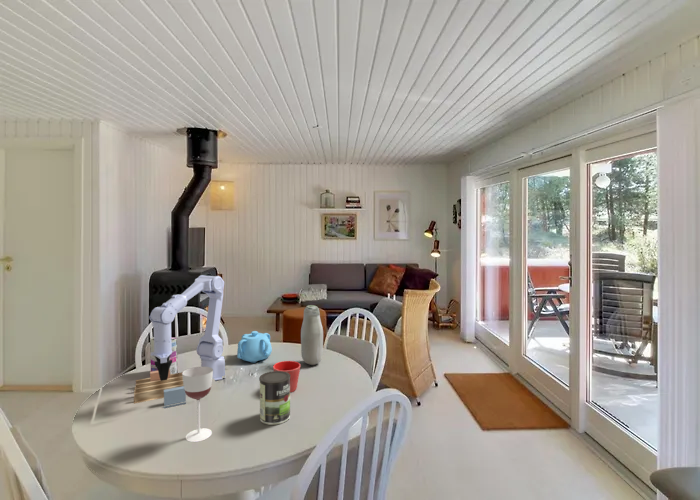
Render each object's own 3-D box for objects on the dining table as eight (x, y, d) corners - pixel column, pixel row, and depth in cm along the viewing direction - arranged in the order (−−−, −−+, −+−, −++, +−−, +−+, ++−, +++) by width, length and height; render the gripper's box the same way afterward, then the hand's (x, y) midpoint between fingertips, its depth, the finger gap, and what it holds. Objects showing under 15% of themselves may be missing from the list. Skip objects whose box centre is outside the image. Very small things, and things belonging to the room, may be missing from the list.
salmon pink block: (170, 382, 148) (169, 368, 148) (170, 384, 147) (170, 370, 146) (150, 386, 145) (150, 371, 145) (150, 388, 143) (150, 373, 143)
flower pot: (306, 388, 146) (306, 365, 145) (283, 397, 138) (283, 372, 137) (289, 381, 153) (289, 358, 153) (267, 389, 145) (267, 365, 145)
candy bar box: (178, 374, 160) (177, 337, 159) (169, 378, 155) (168, 340, 154) (159, 370, 164) (159, 334, 163) (150, 374, 159) (149, 337, 158)
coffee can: (296, 414, 125) (296, 374, 124) (275, 428, 116) (275, 385, 116) (274, 407, 131) (274, 368, 130) (253, 419, 122) (252, 378, 121)
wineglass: (188, 428, 116) (187, 367, 115) (216, 427, 117) (216, 366, 116) (179, 442, 108) (178, 377, 107) (209, 441, 109) (208, 376, 108)
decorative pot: (242, 353, 188) (242, 327, 187) (273, 353, 189) (273, 327, 188) (233, 365, 172) (233, 336, 171) (268, 364, 172) (267, 336, 172)
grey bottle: (326, 362, 175) (326, 304, 174) (313, 369, 167) (313, 308, 165) (310, 358, 181) (310, 302, 179) (297, 364, 172) (296, 306, 170)
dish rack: (184, 380, 153) (184, 371, 153) (188, 395, 140) (188, 385, 139) (134, 389, 145) (134, 379, 144) (133, 406, 131) (133, 395, 130)
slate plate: (185, 401, 135) (184, 385, 134) (185, 404, 133) (185, 388, 132) (164, 406, 131) (163, 389, 131) (164, 408, 129) (163, 392, 129)
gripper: (150, 336, 138) (151, 371, 138) (150, 346, 125) (151, 385, 126) (171, 333, 141) (171, 368, 142) (173, 343, 128) (173, 381, 129)
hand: (163, 376), depth 134 cm, fingers open, 7 cm apart
